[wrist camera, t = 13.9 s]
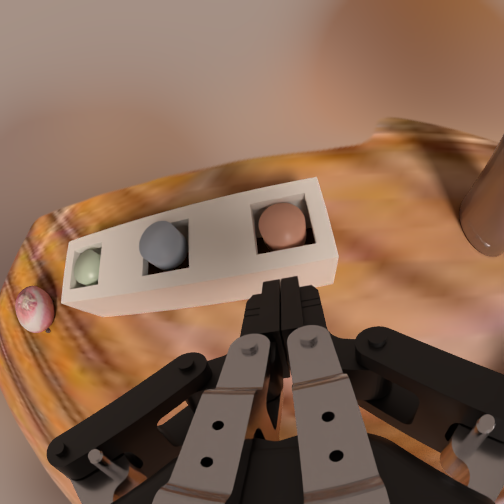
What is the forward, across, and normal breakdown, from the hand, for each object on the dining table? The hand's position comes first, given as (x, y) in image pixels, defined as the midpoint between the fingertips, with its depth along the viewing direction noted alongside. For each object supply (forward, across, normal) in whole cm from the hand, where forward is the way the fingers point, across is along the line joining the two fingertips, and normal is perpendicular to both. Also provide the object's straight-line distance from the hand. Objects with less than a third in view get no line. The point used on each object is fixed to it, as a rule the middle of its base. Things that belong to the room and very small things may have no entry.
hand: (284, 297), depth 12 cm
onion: (+16, +41, +8) cm, 44 cm away
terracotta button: (+14, 0, +2) cm, 14 cm away
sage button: (+14, +22, +2) cm, 26 cm away
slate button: (+13, +11, +1) cm, 17 cm away
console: (+18, +11, +6) cm, 22 cm away
